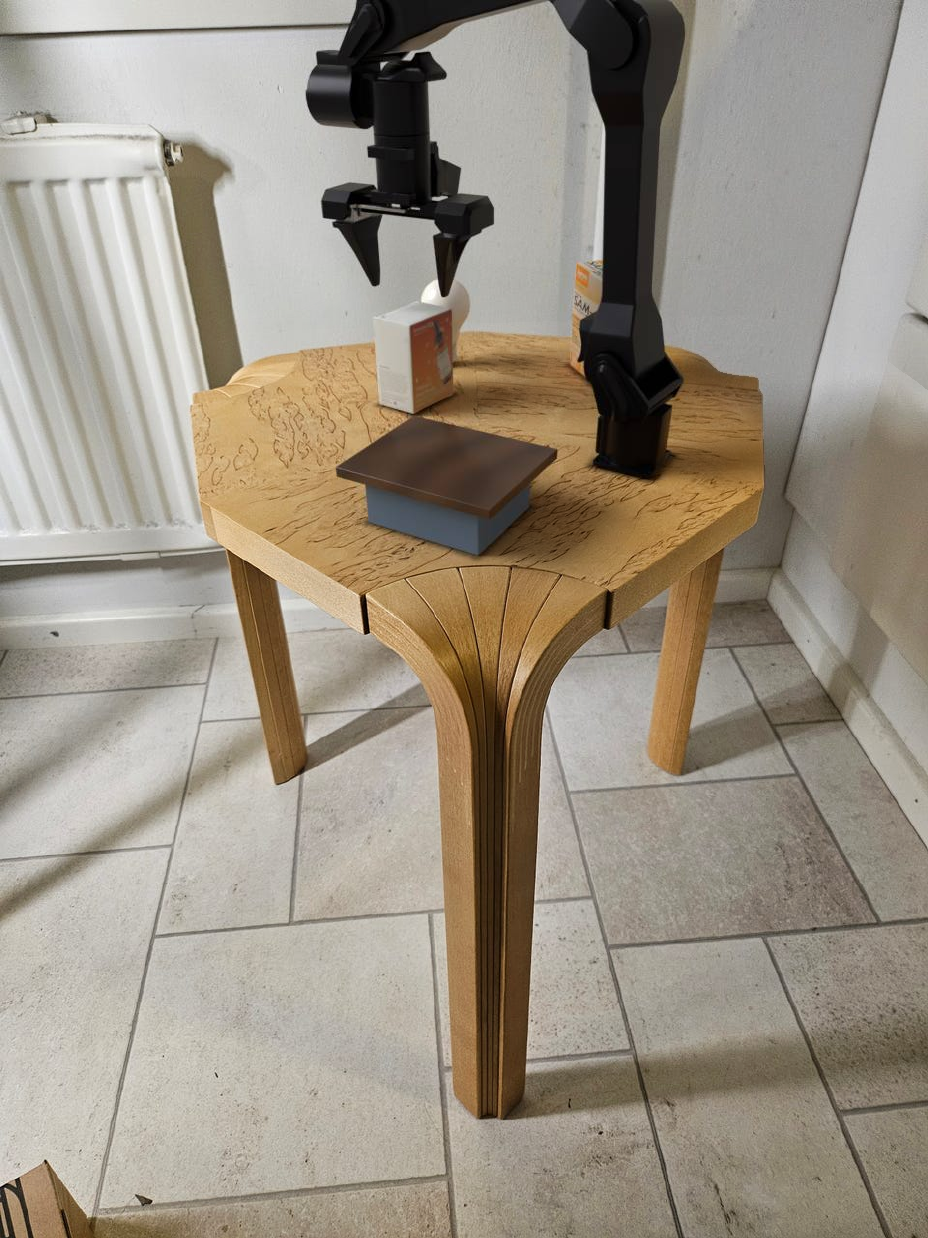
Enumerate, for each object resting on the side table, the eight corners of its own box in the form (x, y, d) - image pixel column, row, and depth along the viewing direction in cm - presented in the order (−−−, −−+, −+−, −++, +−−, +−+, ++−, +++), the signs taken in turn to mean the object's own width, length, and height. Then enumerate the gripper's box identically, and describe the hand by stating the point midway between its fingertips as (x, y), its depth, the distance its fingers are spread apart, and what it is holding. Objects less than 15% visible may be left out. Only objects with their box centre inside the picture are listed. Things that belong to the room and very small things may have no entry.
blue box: (529, 507, 83) (531, 460, 80) (478, 556, 76) (478, 506, 73) (425, 479, 88) (423, 434, 85) (368, 522, 81) (363, 475, 78)
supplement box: (567, 365, 113) (573, 261, 105) (600, 361, 114) (609, 257, 106) (593, 388, 106) (602, 279, 99) (628, 383, 108) (640, 275, 100)
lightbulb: (413, 364, 114) (409, 278, 107) (447, 352, 117) (445, 268, 111) (446, 376, 110) (443, 288, 104) (480, 363, 114) (480, 277, 107)
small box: (413, 415, 100) (408, 325, 94) (378, 404, 103) (371, 316, 97) (455, 394, 106) (453, 307, 99) (420, 384, 108) (416, 299, 102)
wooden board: (557, 458, 80) (557, 448, 79) (490, 520, 71) (490, 509, 71) (414, 424, 87) (413, 415, 86) (336, 476, 78) (335, 466, 77)
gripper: (519, 127, 89) (516, 283, 98) (371, 118, 96) (381, 263, 105) (466, 142, 81) (468, 310, 90) (309, 131, 88) (326, 287, 98)
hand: (409, 290), depth 96 cm, fingers open, 9 cm apart
